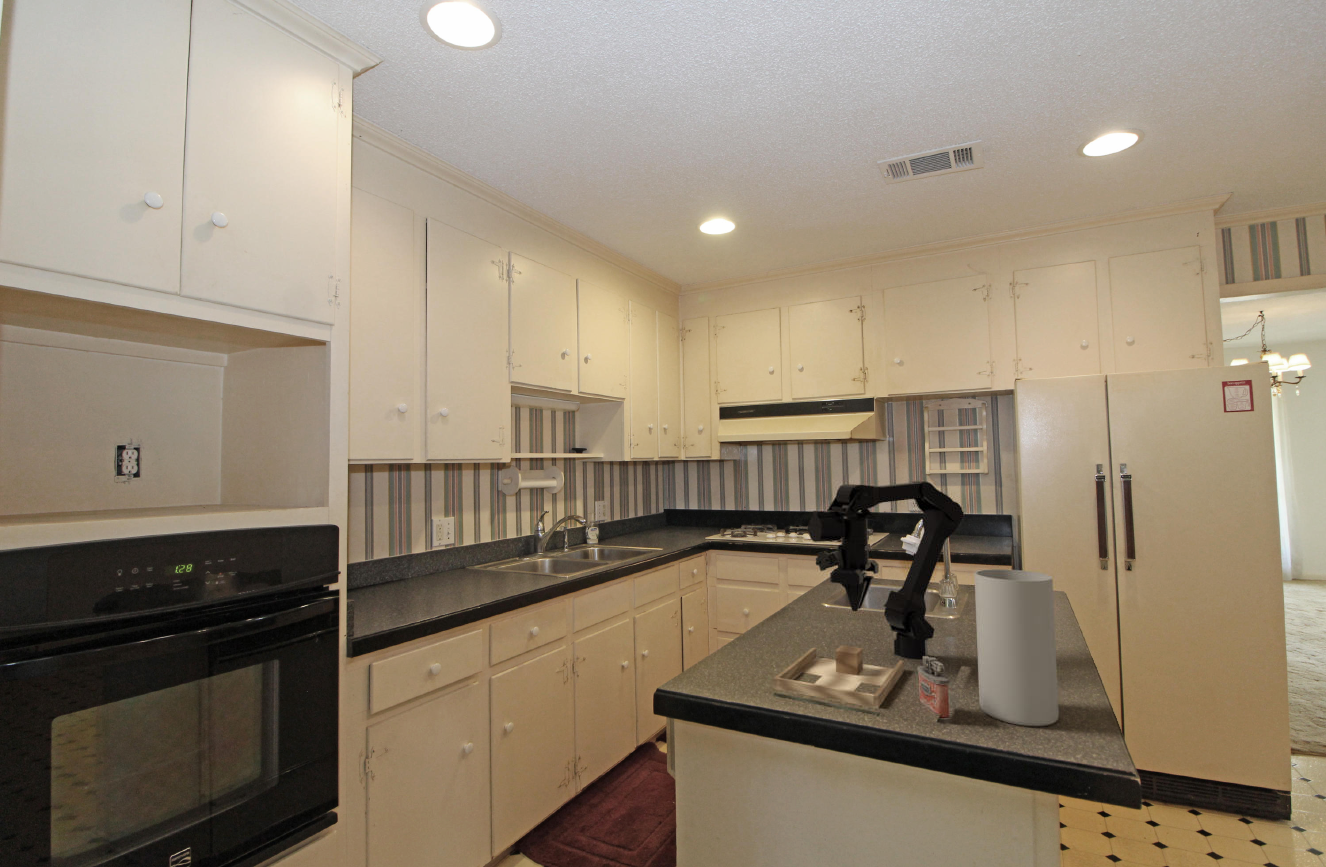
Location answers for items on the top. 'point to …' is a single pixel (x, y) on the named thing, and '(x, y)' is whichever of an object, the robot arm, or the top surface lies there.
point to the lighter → (934, 688)
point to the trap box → (837, 682)
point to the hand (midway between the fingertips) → (856, 609)
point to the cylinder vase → (1016, 646)
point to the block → (849, 660)
